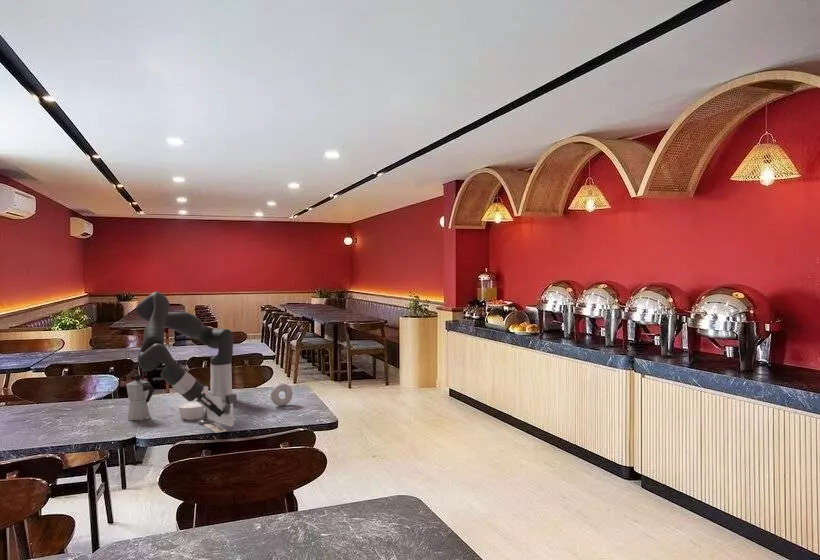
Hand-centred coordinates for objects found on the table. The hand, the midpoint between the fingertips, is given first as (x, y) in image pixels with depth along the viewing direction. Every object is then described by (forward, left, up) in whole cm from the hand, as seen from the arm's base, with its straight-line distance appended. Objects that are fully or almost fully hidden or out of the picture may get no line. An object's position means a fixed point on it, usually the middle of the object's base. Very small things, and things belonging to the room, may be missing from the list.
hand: (221, 414), depth 223 cm
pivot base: (-14, +1, -6) cm, 15 cm away
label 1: (-7, 0, -6) cm, 9 cm away
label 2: (0, -1, -6) cm, 6 cm away
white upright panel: (-5, +1, -4) cm, 6 cm away
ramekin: (-26, +2, -6) cm, 27 cm away
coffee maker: (-41, -13, -6) cm, 43 cm away
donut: (-13, +37, -6) cm, 40 cm away
